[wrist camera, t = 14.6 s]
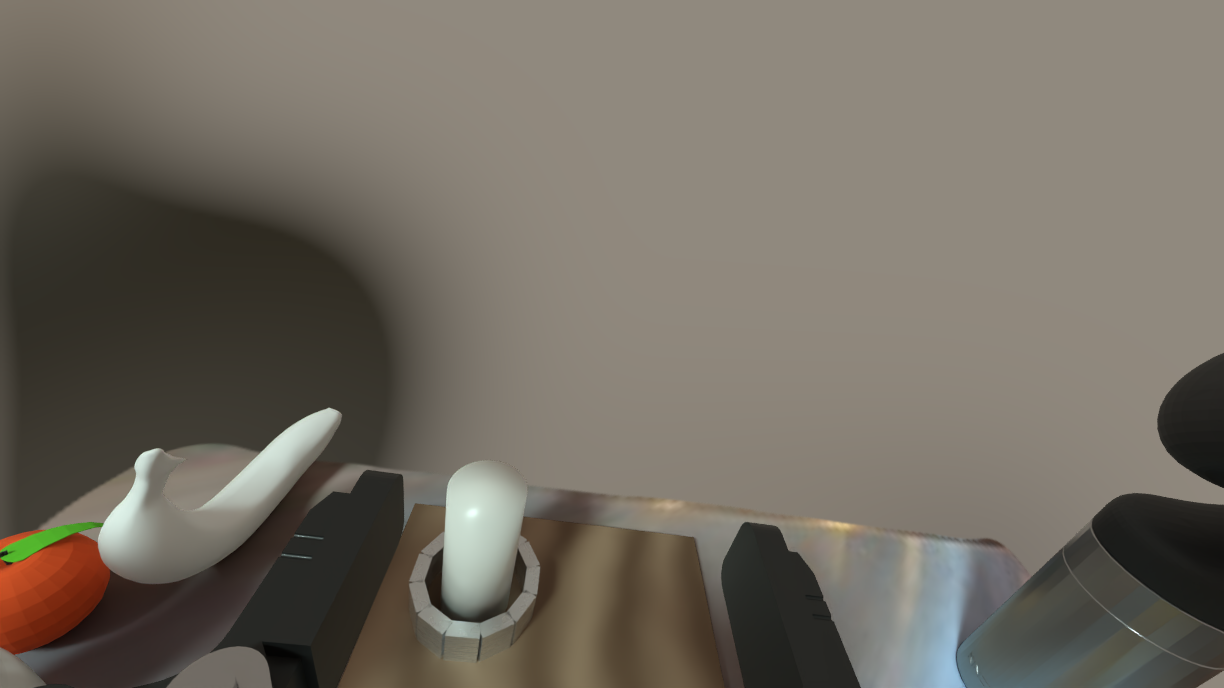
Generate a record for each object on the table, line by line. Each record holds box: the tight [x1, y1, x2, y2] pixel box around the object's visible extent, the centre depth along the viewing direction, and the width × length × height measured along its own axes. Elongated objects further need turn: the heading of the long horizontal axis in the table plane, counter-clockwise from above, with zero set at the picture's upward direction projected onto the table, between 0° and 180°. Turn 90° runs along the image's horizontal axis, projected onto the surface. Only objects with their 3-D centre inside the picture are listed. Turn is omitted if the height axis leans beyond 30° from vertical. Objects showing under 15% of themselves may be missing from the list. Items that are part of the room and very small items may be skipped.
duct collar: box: [409, 532, 540, 663], centre depth 35 cm, size 9×9×3 cm
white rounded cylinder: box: [440, 460, 528, 623], centre depth 33 cm, size 5×5×12 cm
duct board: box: [338, 503, 725, 688], centre depth 37 cm, size 26×16×2 cm, turn 92°
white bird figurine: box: [98, 408, 342, 584], centre depth 36 cm, size 5×19×15 cm, turn 177°
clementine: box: [0, 522, 110, 655], centre depth 29 cm, size 8×7×7 cm
